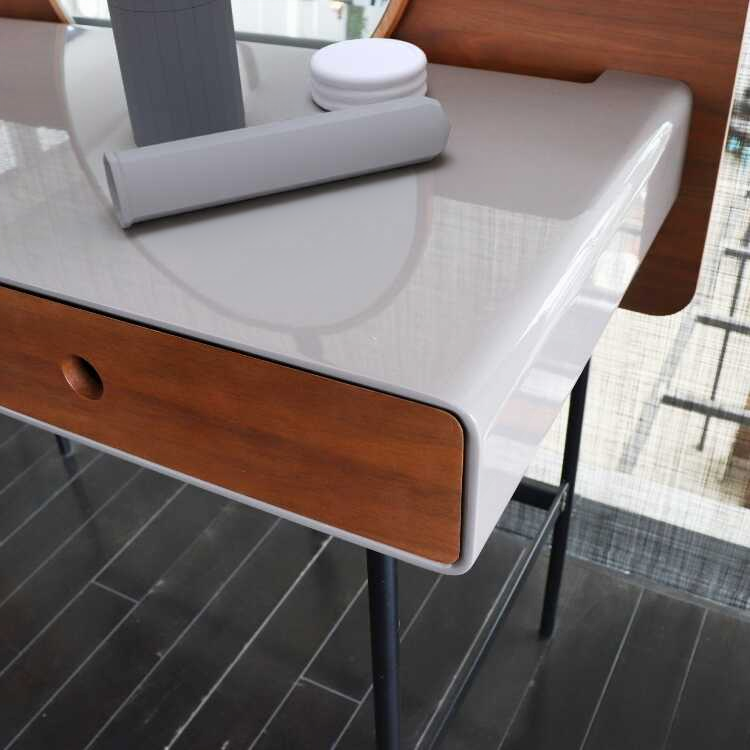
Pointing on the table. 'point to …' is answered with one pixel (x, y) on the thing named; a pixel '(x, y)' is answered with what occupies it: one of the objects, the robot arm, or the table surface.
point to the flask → (178, 67)
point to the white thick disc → (366, 72)
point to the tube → (273, 157)
